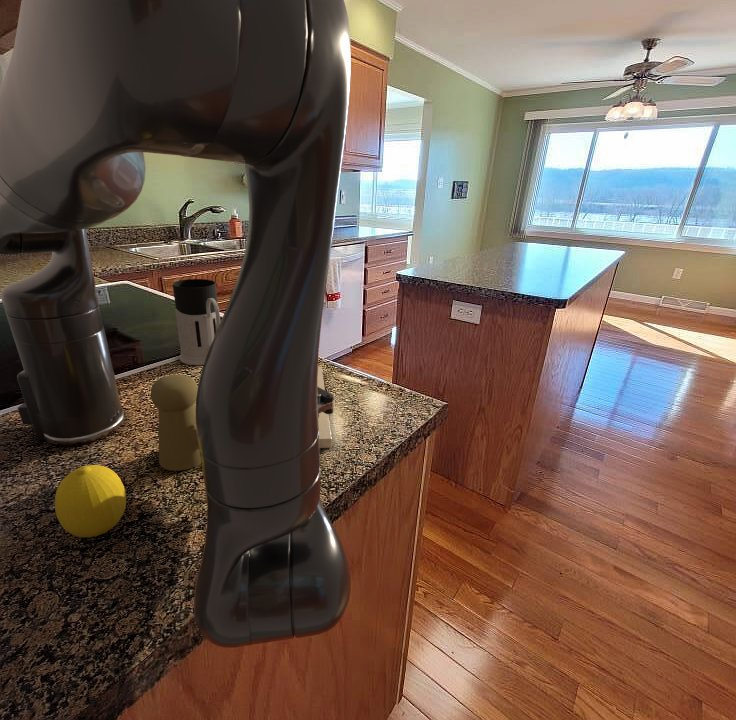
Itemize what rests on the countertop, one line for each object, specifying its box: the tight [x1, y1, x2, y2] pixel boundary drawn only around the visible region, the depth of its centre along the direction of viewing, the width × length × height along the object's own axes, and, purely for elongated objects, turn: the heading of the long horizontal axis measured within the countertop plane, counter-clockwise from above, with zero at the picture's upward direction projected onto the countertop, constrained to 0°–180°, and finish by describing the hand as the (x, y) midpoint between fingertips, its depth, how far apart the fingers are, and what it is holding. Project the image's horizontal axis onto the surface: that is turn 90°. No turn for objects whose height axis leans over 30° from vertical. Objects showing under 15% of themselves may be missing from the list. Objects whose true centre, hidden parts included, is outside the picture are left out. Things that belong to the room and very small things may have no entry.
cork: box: [150, 374, 201, 472], centre depth 49 cm, size 6×6×11 cm
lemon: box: [54, 464, 127, 538], centre depth 38 cm, size 6×6×8 cm
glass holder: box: [172, 278, 221, 366], centre depth 76 cm, size 9×14×15 cm, turn 42°
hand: (286, 375), depth 59 cm, fingers closed
